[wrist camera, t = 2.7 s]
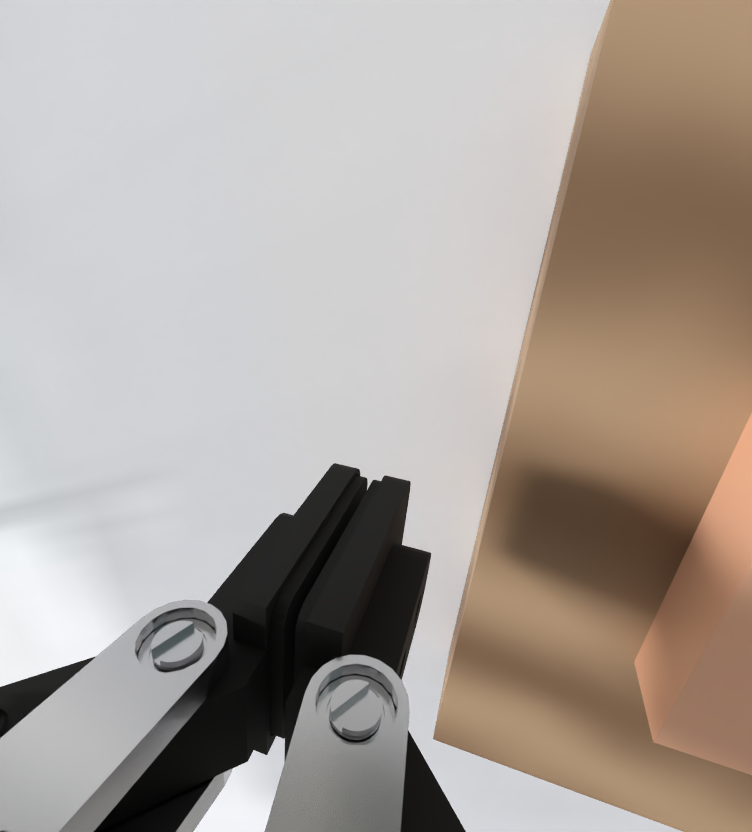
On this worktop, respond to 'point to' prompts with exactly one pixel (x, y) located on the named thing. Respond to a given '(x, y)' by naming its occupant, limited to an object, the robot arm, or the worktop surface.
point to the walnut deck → (618, 421)
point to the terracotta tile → (707, 632)
